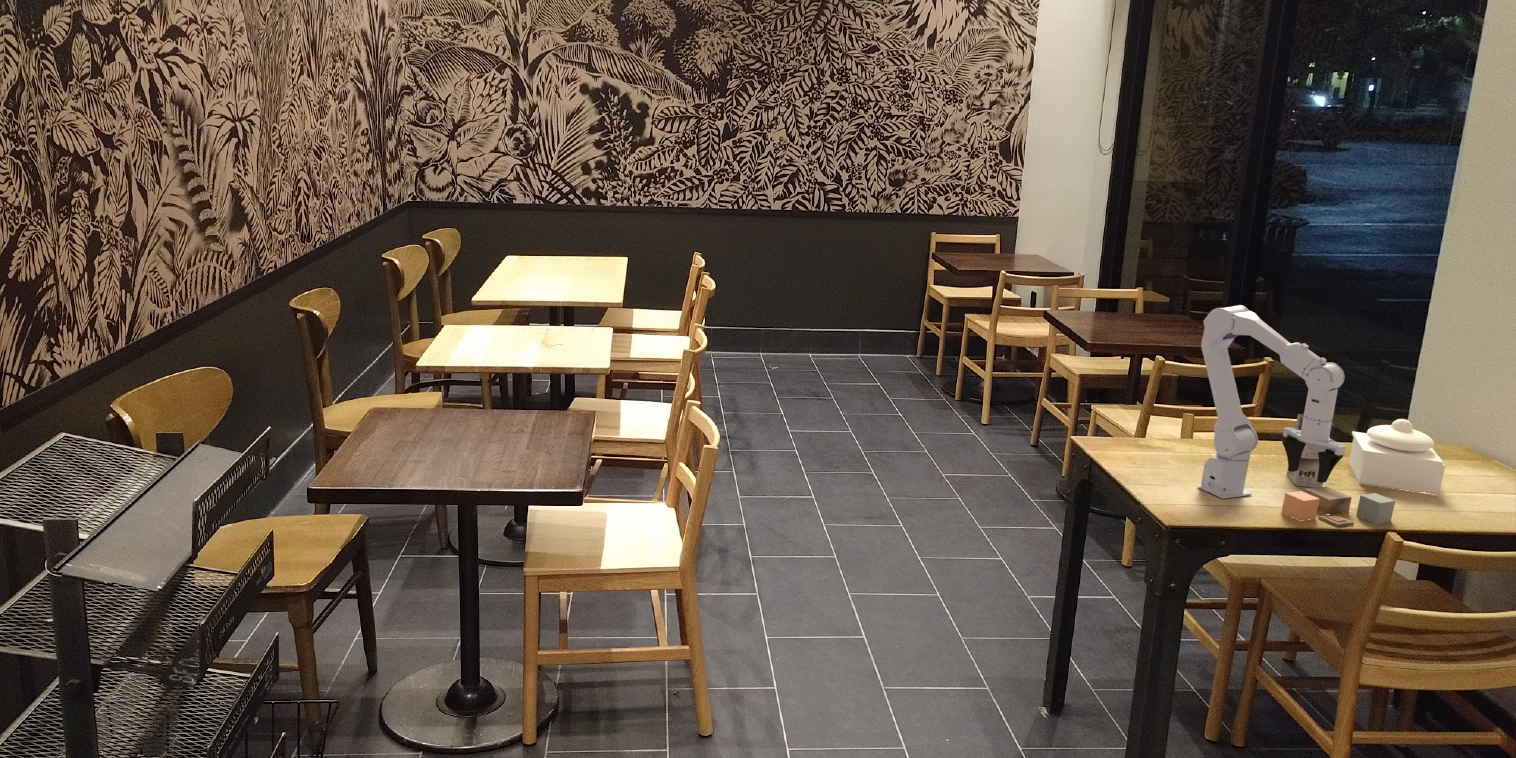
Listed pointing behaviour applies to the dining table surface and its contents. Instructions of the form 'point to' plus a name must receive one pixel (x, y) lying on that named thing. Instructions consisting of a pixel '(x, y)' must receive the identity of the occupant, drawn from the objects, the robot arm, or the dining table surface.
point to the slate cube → (1375, 508)
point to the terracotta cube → (1300, 505)
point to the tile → (1336, 520)
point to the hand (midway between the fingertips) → (1307, 476)
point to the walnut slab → (1330, 500)
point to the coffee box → (1308, 462)
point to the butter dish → (1396, 458)
